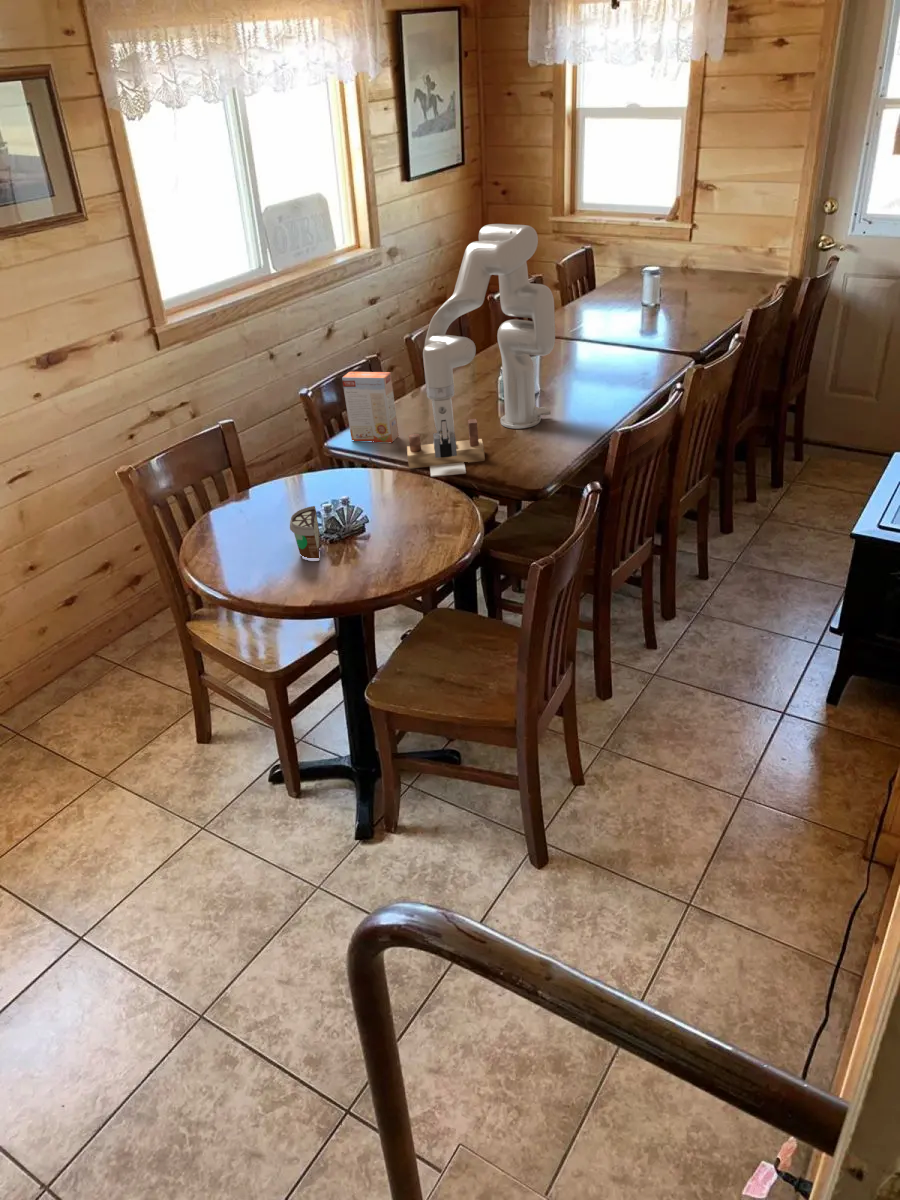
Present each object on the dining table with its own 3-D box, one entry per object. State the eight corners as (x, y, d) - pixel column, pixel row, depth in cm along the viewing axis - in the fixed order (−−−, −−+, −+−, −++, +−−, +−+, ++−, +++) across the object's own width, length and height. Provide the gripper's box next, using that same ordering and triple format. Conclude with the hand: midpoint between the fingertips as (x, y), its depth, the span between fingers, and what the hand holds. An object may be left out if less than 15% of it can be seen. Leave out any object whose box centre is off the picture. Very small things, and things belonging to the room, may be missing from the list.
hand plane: (482, 451, 265) (480, 415, 259) (484, 460, 259) (482, 424, 254) (408, 459, 265) (404, 423, 259) (409, 468, 259) (404, 432, 253)
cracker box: (399, 436, 281) (391, 371, 270) (392, 444, 276) (384, 377, 265) (358, 434, 285) (349, 370, 274) (351, 442, 281) (341, 376, 270)
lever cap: (455, 449, 255) (454, 427, 252) (456, 455, 251) (455, 433, 248) (434, 451, 255) (432, 430, 252) (435, 457, 251) (433, 435, 248)
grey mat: (464, 463, 259) (464, 462, 259) (466, 473, 253) (466, 472, 253) (429, 467, 259) (429, 465, 259) (430, 477, 253) (430, 475, 253)
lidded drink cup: (297, 543, 225) (290, 507, 220) (321, 540, 226) (315, 504, 220) (294, 567, 215) (286, 530, 210) (319, 564, 215) (312, 527, 210)
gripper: (456, 399, 236) (461, 463, 246) (452, 379, 251) (457, 440, 260) (427, 402, 236) (434, 466, 246) (425, 381, 251) (431, 443, 260)
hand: (445, 452), depth 253 cm, fingers closed on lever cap, 4 cm apart
